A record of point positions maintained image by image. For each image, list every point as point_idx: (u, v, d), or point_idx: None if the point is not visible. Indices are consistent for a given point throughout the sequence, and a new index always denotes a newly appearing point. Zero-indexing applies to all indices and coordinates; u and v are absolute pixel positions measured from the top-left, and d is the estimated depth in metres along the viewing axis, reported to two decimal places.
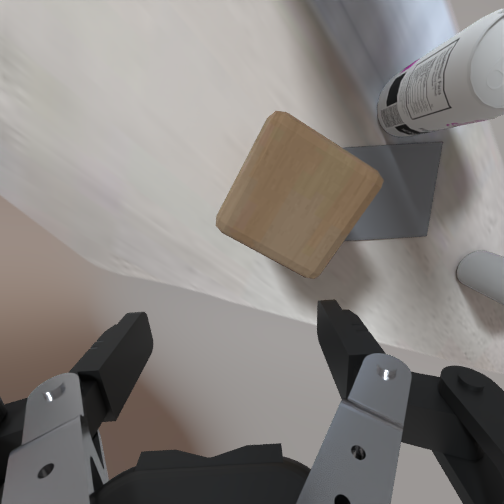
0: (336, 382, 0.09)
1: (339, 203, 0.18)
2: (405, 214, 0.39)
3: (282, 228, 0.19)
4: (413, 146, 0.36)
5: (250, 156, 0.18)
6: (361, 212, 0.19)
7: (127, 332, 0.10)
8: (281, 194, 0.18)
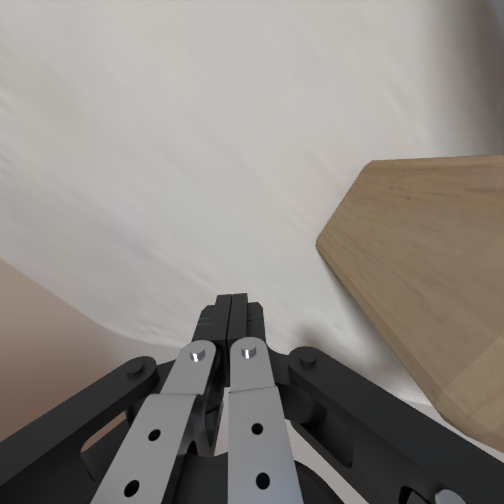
0: None
1: None
2: None
3: None
4: None
5: None
6: None
7: (229, 310, 0.11)
8: None
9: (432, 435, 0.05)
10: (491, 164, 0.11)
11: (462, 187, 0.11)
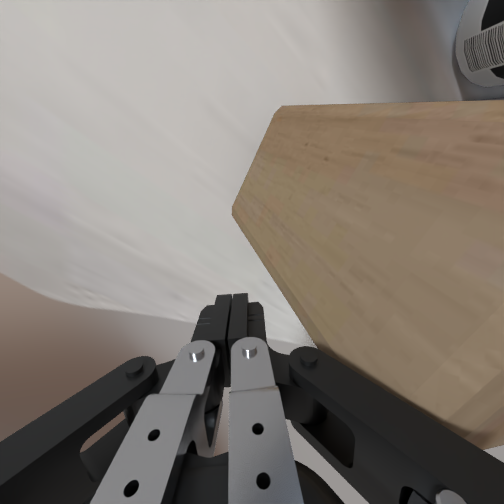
0: None
1: None
2: None
3: None
4: None
5: None
6: None
7: (228, 310, 0.11)
8: None
9: (433, 436, 0.05)
10: (419, 116, 0.08)
11: (387, 146, 0.09)
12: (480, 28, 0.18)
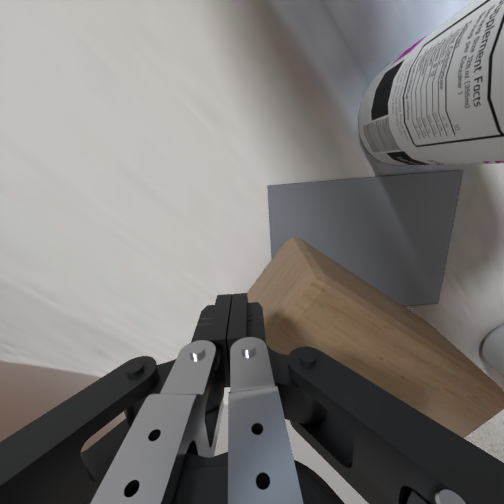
0: None
1: None
2: (406, 274, 0.26)
3: None
4: (417, 178, 0.23)
5: (475, 428, 0.20)
6: None
7: (229, 310, 0.11)
8: None
9: (432, 436, 0.05)
10: (459, 378, 0.18)
11: (442, 386, 0.18)
12: (371, 118, 0.19)
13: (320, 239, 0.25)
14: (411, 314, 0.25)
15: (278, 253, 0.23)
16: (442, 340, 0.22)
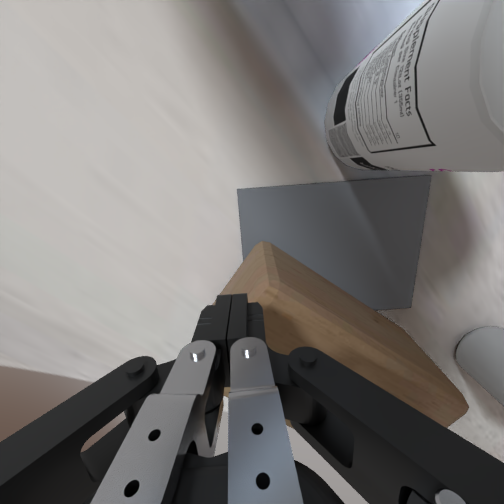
0: None
1: None
2: (378, 278, 0.26)
3: None
4: (386, 182, 0.23)
5: None
6: None
7: (229, 310, 0.11)
8: None
9: (432, 435, 0.05)
10: (417, 385, 0.18)
11: (401, 392, 0.18)
12: (333, 123, 0.19)
13: (291, 243, 0.25)
14: (381, 318, 0.25)
15: (247, 257, 0.23)
16: (409, 345, 0.22)
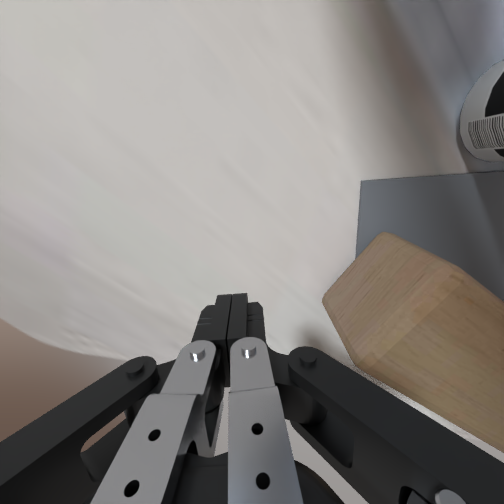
0: None
1: None
2: (487, 270, 0.27)
3: None
4: None
5: None
6: None
7: (229, 310, 0.11)
8: None
9: (432, 435, 0.05)
10: None
11: None
12: (484, 114, 0.19)
13: (407, 234, 0.25)
14: None
15: (370, 248, 0.24)
16: None
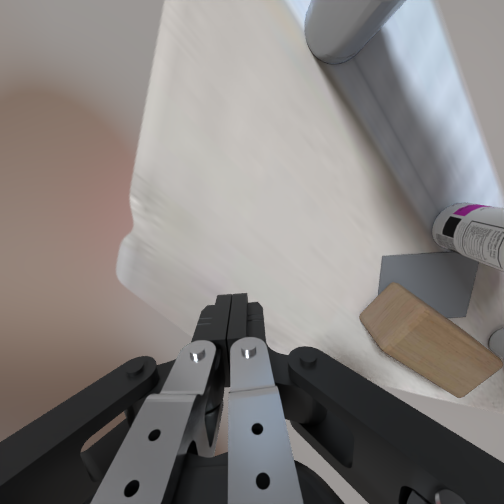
0: None
1: None
2: (449, 301, 0.48)
3: None
4: (458, 254, 0.45)
5: (487, 378, 0.42)
6: None
7: (229, 310, 0.11)
8: None
9: (432, 436, 0.05)
10: (481, 353, 0.40)
11: (474, 356, 0.40)
12: (442, 233, 0.41)
13: (406, 282, 0.47)
14: None
15: (387, 290, 0.46)
16: (470, 336, 0.45)
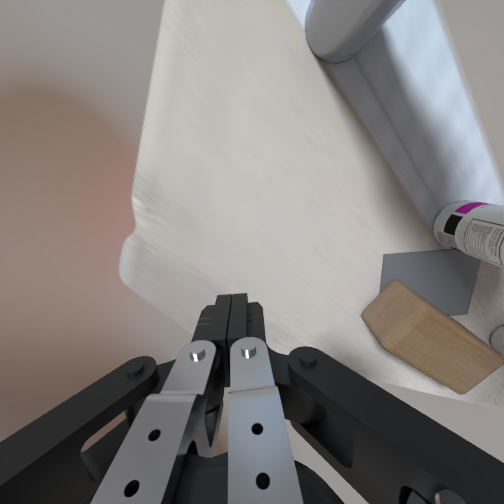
0: None
1: None
2: (451, 298, 0.49)
3: None
4: None
5: (489, 374, 0.43)
6: None
7: (229, 310, 0.11)
8: None
9: (432, 435, 0.05)
10: (483, 350, 0.40)
11: (475, 353, 0.41)
12: (443, 231, 0.41)
13: (407, 280, 0.47)
14: (454, 320, 0.47)
15: (388, 289, 0.46)
16: (472, 333, 0.45)
